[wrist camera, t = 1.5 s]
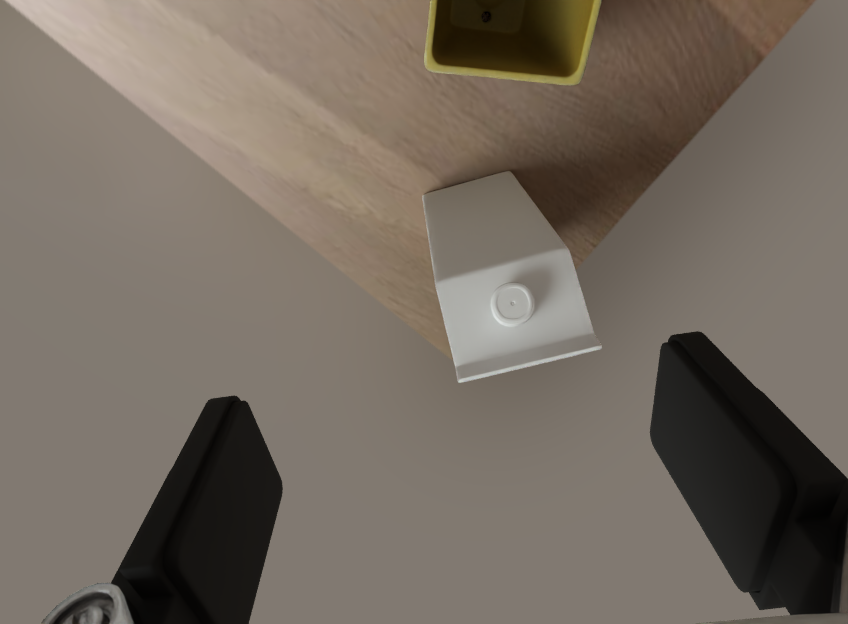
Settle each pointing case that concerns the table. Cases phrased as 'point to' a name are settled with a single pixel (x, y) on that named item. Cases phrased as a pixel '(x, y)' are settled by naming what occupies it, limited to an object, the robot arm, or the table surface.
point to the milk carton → (503, 279)
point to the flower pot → (511, 39)
